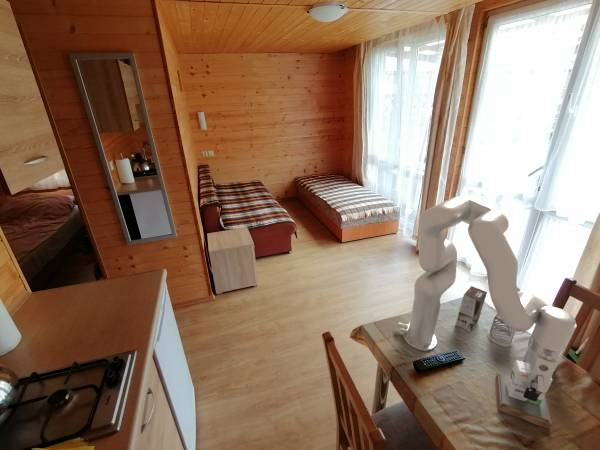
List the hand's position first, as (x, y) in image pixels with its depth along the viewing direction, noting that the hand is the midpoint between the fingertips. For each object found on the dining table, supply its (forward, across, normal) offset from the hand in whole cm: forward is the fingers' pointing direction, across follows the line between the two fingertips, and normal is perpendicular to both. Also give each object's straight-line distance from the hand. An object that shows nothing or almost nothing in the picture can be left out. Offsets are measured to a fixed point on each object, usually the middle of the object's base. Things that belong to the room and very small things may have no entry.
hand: (527, 385), depth 94 cm
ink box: (+5, 0, 0) cm, 5 cm away
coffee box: (+8, +32, +16) cm, 37 cm away
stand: (+7, 0, 0) cm, 7 cm away
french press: (+8, +29, +3) cm, 30 cm away
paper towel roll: (+8, +21, -10) cm, 25 cm away
